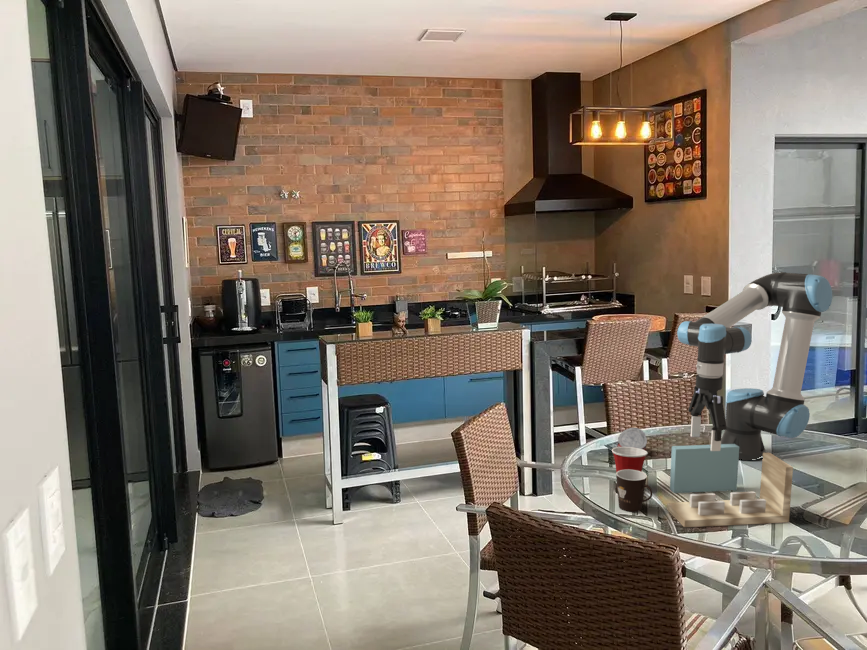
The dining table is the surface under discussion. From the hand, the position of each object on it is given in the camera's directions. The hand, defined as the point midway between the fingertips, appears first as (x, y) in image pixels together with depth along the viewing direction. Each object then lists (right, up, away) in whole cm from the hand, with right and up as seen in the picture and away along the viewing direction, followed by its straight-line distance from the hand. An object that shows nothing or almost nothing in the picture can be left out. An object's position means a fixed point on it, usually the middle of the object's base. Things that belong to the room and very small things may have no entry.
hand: (705, 443), depth 226 cm
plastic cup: (-22, -15, +6) cm, 27 cm away
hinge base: (0, -18, -16) cm, 24 cm away
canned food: (-13, -10, +36) cm, 40 cm away
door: (0, -15, +3) cm, 15 cm away
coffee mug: (-25, -17, -12) cm, 33 cm away
